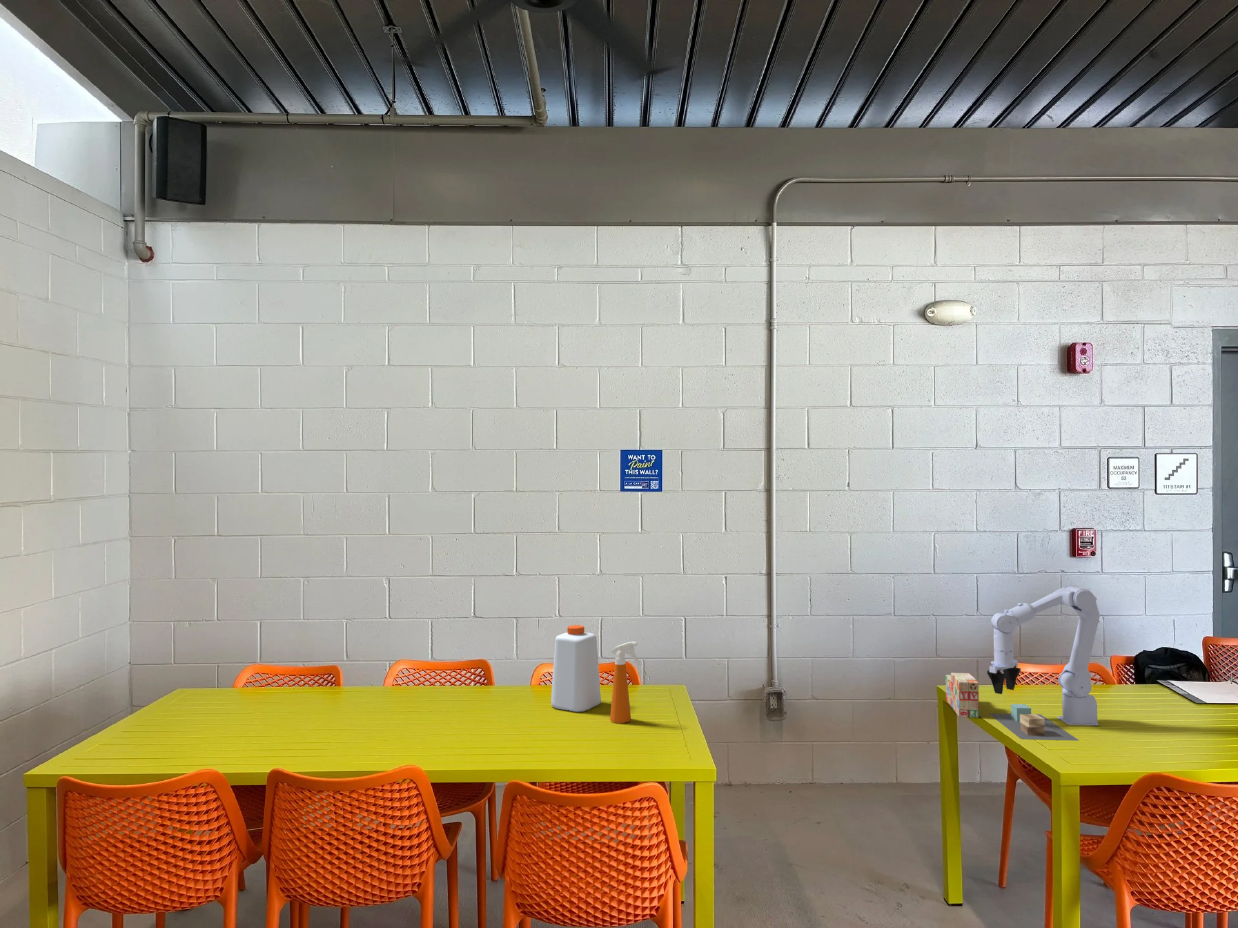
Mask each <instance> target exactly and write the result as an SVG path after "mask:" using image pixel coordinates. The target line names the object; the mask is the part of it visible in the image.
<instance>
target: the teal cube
mask: <svg viewBox="0 0 1238 928" xmlns="http://www.w3.org/2000/svg"><path fill="white" fill-rule="evenodd" d="M1010 706H1011V707H1010V711H1011V712H1010V714H1011V718H1013V719H1014V720H1015V721H1017V722H1020V714H1032V707H1031V706H1029V705H1028V704H1024V703H1023V704H1022V703H1011V704H1010Z"/></svg>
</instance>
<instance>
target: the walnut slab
mask: <svg viewBox="0 0 1238 928" xmlns="http://www.w3.org/2000/svg"><path fill="white" fill-rule="evenodd" d="M1021 731H1023V732H1024V733H1025V734H1027V735H1044V727H1028V726H1026V725H1024V724H1022V723H1021Z"/></svg>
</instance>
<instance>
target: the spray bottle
mask: <svg viewBox="0 0 1238 928" xmlns="http://www.w3.org/2000/svg"><path fill="white" fill-rule="evenodd" d="M637 645H638V643H637V641H628V642H625V643H622V644H619V645H617V646H615V647H614V648H612V649H611V651H610V652H611V653H612V655H613V654H614V655H615V657H614V670H613V682H612V693H611V694H612V695H611V704H610V705H611V706H610V719H609V721H610V720H611V721H613V722H616V723H615V724H619V723H622V724H626V723H625V722H628V721H630V720H631V721H632V716H631V715H632V714H631V705H630V703H631V702H630V696H629V695H630V694H629V693H630V692H629V685H628V674H627V664H626V657H625V654H626V655H629V657H630V658H632V659H633V660H634V661H635V662H636V663H637V664H638V665H641V666H642V662H640V660H639V659H638V656H637V655H636V654H635V647H636V646H637ZM631 721H630V722H631ZM613 722H612V723H613ZM628 723H629V722H628Z"/></svg>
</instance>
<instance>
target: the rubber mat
mask: <svg viewBox="0 0 1238 928" xmlns="http://www.w3.org/2000/svg"><path fill="white" fill-rule="evenodd" d="M988 715H990V717H992V718H993V719H994V720H996V721H997V722H998V723H1000V724H1001V725H1002V726H1003V727H1004V728H1006V729H1008V731H1010V732H1011V733H1013V734H1014V735H1015V736H1016V737H1018V739H1020V740H1029V741H1030V740H1031V741H1032V740H1033V741H1034V740H1036V741H1037V740H1040V741H1041V740H1042V741H1074V742H1075V741H1076V742H1077V741H1079V742H1080V740H1079V739H1078V738H1076V737H1075V736H1074V735H1073V734H1070V733H1069V732H1068V731H1066V730H1065V729H1063V728H1062V727H1060V726H1059V725H1058V724H1056V723H1054V722H1053V721H1051V720H1050V719H1049V718H1047V717H1045V716H1044V715H1043V714H1040V713H1039V714H1038V713H1037V714H1036V715H1038V716H1040V717H1042V718H1044V719H1045V727H1044V735H1027V734H1025V733H1024V732H1023V731H1021V723H1020V722H1017V721H1015V720H1014V719H1013V718H1011V713H992V712H991V713H990V712H989V713H988Z"/></svg>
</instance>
